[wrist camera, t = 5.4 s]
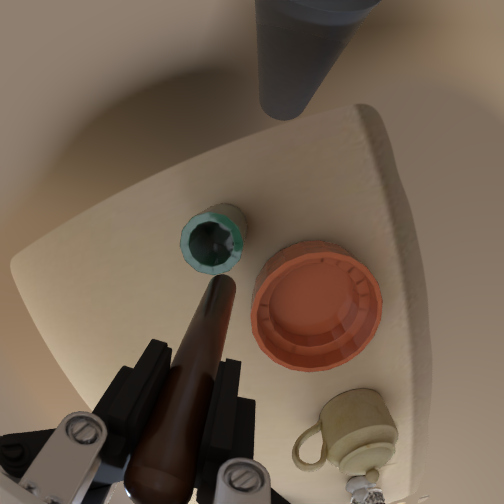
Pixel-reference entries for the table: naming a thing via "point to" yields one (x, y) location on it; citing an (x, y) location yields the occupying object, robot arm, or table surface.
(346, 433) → the sugar bowl
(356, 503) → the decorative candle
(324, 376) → the table surface
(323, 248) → the mixing bowl
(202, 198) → the table surface
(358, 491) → the grey figurine
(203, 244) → the stick holder
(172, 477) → the stirring stick
